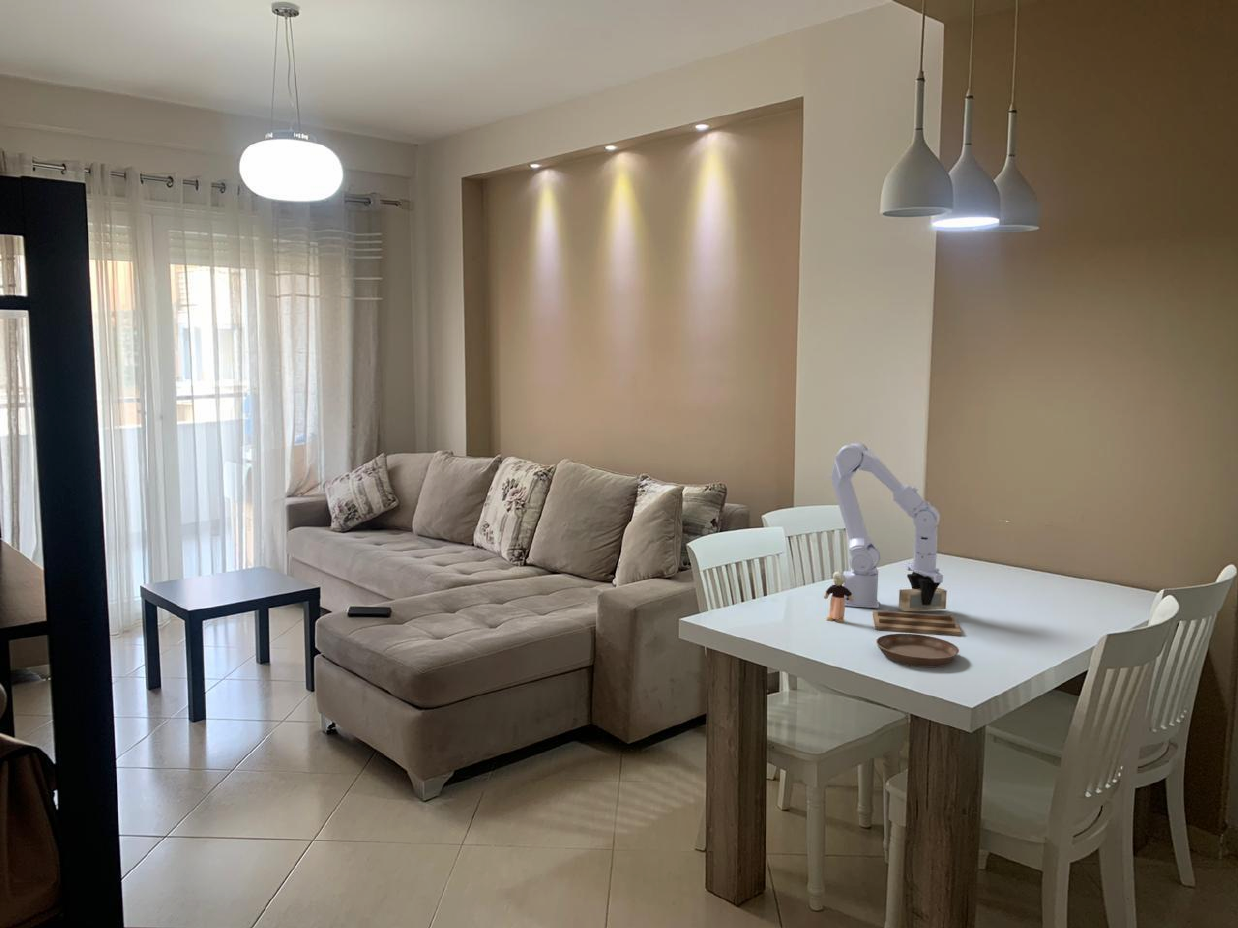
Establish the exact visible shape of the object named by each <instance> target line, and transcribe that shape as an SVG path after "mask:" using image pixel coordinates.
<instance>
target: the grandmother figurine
mask: <svg viewBox="0 0 1238 928" xmlns="http://www.w3.org/2000/svg"><path fill="white" fill-rule="evenodd" d="M832 579H833V584H832V585H831V586H829V587H828V588H827V589H826V591H825V593H824V596H823V599H825V600H826V599H828V598H829V596H830V595H831V596H830V603H829V613H828V614H829V615H828V616H827V617H826V619H825V620H826V621H830V622H833V621H835V622H836V623H844V622H845V611H846V606H845V598H844V595H845V596H847V597H848V598H849V599H850V602H853V601H854V599H853V597H852V593H851V592H850V591H849V590H848V589H847V588H846V587H844V586H843V583H844V582H845V581H846V577H845V576H844V575H843V572H841V571H835V572H834V573H833V574H832Z"/></svg>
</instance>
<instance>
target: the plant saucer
mask: <svg viewBox="0 0 1238 928" xmlns="http://www.w3.org/2000/svg"><path fill="white" fill-rule="evenodd" d="M875 643H876V645H877V647H878V649H879V650H880V652H881V654H883V655H884V656H885V657H886V658H887V659H889V660H891V661H893V662H896V663H898V664H902V665H906V666H910V667H911V666H912V667H917V668H918V667H921V668H922V667H923V668H935V667H936V668H937V667H942V666H945V665H948V664H949V663H951V662H952V661H953V660H954V659H955V658H956V657H957V655H958V654H959V653H960V649H959V647H958V646H957V645H955V644H954V643H952V642H950V641H947V640H944V639H942V638H938V637H934V636H930V635H924V634H918V633H891V634H885V635H881V636H879V637H878V638H877V639H876V641H875Z"/></svg>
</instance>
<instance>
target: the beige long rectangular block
mask: <svg viewBox="0 0 1238 928" xmlns="http://www.w3.org/2000/svg"><path fill="white" fill-rule="evenodd" d="M898 592H899V593H898V595H899V596H898V609H899V610H901V611H902V612H911V611H912V612H913V611H914V612H916V611H933V610H934V611H935V610H937V611H938V610H947V592H948V591H947V589H943V588H942V587H937V589H936V591H935V593H934V596H933V599H932V602H931V605H922V599H921V589H912V588H910V589H909V588H906V589H904V588H903V589H899V590H898Z"/></svg>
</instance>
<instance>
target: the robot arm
mask: <svg viewBox="0 0 1238 928" xmlns="http://www.w3.org/2000/svg"><path fill="white" fill-rule="evenodd" d="M831 470H832V471H831V475H830V481H831V484H832V487H833V491H834V495H835V497H836V500H837V504H838V506H839V509H840V514H841V516H842V520H843V523H844V527H845V530H846V534H847V536H848V539H849V544H848V548H849V549H848V550H849V553H850V557H849V565H850V571H848V570H847V571H846V570H844V571H843V572H842V574H843V575H844V576H845V577H846V581H845V582H844V583H843V584H842V586H844V587H846V588H847V589H848V590H849V591H850V592H851V593H852V597H853V599H854V601H853V602H850V599H849V598H848V597H847V596H845V595H844V598H845V607H853V608H854V607H855V608H869V609H871V608H872V609H879V608H880V603H879V600H878V589H879V570H878V568H877V566H878V564H879V563H880V561H881V553H880V551H879V550H878V549H877V548H876V546H875V545H874V543H873V540H872V538H871V537H870V535H869V533H868V531H867V527H866V525H865V522H864V518H863V515H862V511H861V509H860V505H859V502H858V499H857V495H856V492H855V488H854V486H853V483H852V482H853V481H852V478H854V475H855V474H856V472H857V470H860V471H865V472H869V473H871V474H873V475H874V476H875V478H877V479H878V481H880V482H881V484H883V485H884V486H886V488H887V489H889V490H890V492H892V494H893V496H892V498H893V501H894V502H895V503H896V504H897V505H898V506H899V507H900V508H901V509H902V510H903V511H904V512H905V513H906V514H907V516H908V517H909V518H912V521H913V525H914V526H915V534H914V541H913V543H914V544H913V562H906V571H908V572H910V571H911V573H908V574H907V575H906V577H907V579H908V581H909V583H910V585H911V589H921V599H922V605H931V602H932V599H933V596H934V593H935V591H936V589H937V588H939V586H940V585H941V583H943V580H944V575H943V574H941V573H940V568H937V555H938V554H937V553H938V537H939V536H938V531H939V530H938V524H939V522H940V521H941V514H940V512H939V511H938V508H937V507H935V506H934V505H931V503H930V501H926V500H925V499H924V498H923V497H922V496H921V495H920V494H919V493H918V488H916V486H913V487H912V486H911V485H910V484H902V482H901V481H900V480H899V479H898V478H897V477H896V475H894V474H893V472H892V471H891V470H890V469H889V468H888V467H887V466H886V465H885V464H884V463H883V461H881V459H880V458H879V456H877V455H876V454H875V453H874V452H873V451H872V450H871V449H868V447H867V446H866V445H865V444H863V443H862V442H858V441H857V442H856V441H855V442H853V443H852V442H851V443H850V444H846V445H844V446H842V447H841V448H840V449H839V451H838V452H837V453H836V454H835V456H834V463H833V466H832V469H831Z"/></svg>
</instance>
